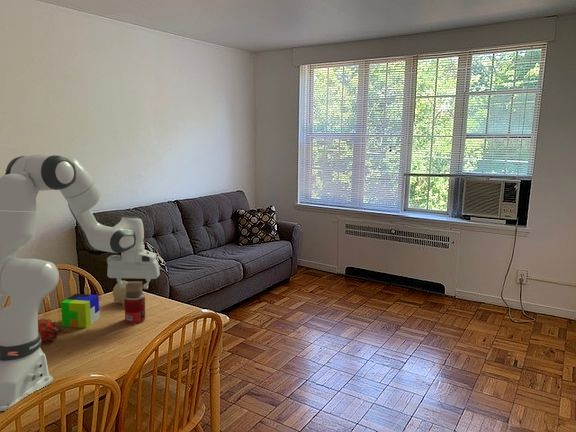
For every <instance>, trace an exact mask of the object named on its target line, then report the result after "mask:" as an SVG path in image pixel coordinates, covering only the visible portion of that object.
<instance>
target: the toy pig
mask: <svg viewBox="0 0 576 432" xmlns="http://www.w3.org/2000/svg"><path fill="white" fill-rule="evenodd" d="M121 281H122V283H125V288H124V289H120V285H119V283H118V282H117V283H116V284H115V286H114V287H113V289H112V296H113V302H114V303H115V302H117V303H119V304H121V305H122V306H123V307H125V305H124V296H125V295H126V285H127V284H128V283H129V282H130V281H126V280H121Z"/></svg>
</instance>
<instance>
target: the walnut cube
mask: <svg viewBox="0 0 576 432" xmlns="http://www.w3.org/2000/svg"><path fill="white" fill-rule="evenodd" d="M128 282H129V283H128V284H127V285H126V297H140V296H141V294H142V293H144V292H143V281H137V280H135V281H134V280H133V281H131V280H129V281H128Z"/></svg>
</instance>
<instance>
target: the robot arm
mask: <svg viewBox="0 0 576 432" xmlns="http://www.w3.org/2000/svg"><path fill="white" fill-rule="evenodd" d="M40 191H59V192H60V193H61V195H62V196H63V198H64V199H65V201H66V202H67V205H68V208H69V211H70V213H71V215H72V217H73V218H74V220H75V222H76V223H77V225H78V227H79V228H80V230H81V233H82V235H83V239H84V243H85V245H86V246H87V248H89V249H91V250H93V251H102V252H107V253H113V254H111V255H109V256H108V257H107V258H106V265H107V269H106V270H107V271H106V272H107V273H106V275H107V277H108V278H109V279H116V281H117V283H119V285H120V289H124V288H125V283H122V281H123V280H122V279H139V280H141V279H142V280H143V279H145V282H146V283H144V284H142V288H143V289H144V290H148V289H149V283H150V282H151V280H154V279H155V280H157V278H159V276H160V275H161V274H160V273H161V272H160V265H159V261H158V260H157V253H156V252H153V251H149V250H147V249H145V245H144V240H145V228H144V223H143V220H142V219H141V218H140V217H138V216H133V215H123V216H122V217H121V219H120V221H119V222H117V224H115V225H114V226H107V225H105V224H102V223H100V222H98V221H97V220H96V218H95V216H94V214H93V212H92V210H91V209H92V208H94V207H95V206H96V205H97V204H98V202H99V201H100V198H101V191H100V188H99V186H98V184H97V183H96V180H94V178H93V177H92V175H91V174H90V173H89V171H88V170H87V169H86V168H85V167H84V165H83V164H82V163H81V162H80V161H78V159H76V158H74V157H68V156H66V157H64V156H61V155H55V154H54V155H53V154H52V155H45V154H31V155H21V156H18V157H15V158H13V159H11V160H10V161H9V163H8V164H7V167H6V169H5V173H4V175H2V176H0V296H8V297H9V298H10V304H9V305H7V306H5V307H3V308H1V309H0V412H2V411H3V412H5V411H8V410H7V409H8V408H10V407H11V406H13V405H14V404H16V403H17V402H19V401H20V400H21V399H23V398H24V397H26V396H28V395H29V394H31V393H33V392H34V391H36V390H39V389H41V388H43V387H44V388H46V387H47V386H48V385H49V384H50V383H52V382H53V381H54V377H53V376H52V374H50V372H49V367H48V361H47V357H46V354H45V353H44V351H43V350H42V348H41V346H42V341H41V337H40V333H39V332H38V320H39V317H38V316H39V309H40V307H41V303H43V300H44V299H45V297H47V296H48V295H49V294H51V292H53V291H54V290H55V289H56V287H57V285H58V284H59V281H60V273H59V269H58V267H57V266H56V265H55V263H54V262H51V261H47V260H43V259H39V258H20V257H19V258H18V257H17V255H18V252H19V250H20V248H21V247H22V246H25V245H27V244H29V243H30V242H31V241H33V239H34V238H35V236H36V231H37V230H36V228H37V227H36V226H37V225H36V224H37V196H38V193H39V192H40ZM114 254H117V255H114ZM45 386H46V387H45ZM44 388H43V389H44Z"/></svg>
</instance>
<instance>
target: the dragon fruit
mask: <svg viewBox="0 0 576 432" xmlns="http://www.w3.org/2000/svg"><path fill="white" fill-rule="evenodd" d="M61 331H62V328H61V327H59V325H58V324H57V323H55V322H54V321H53V320H52V319H50V318H49V319H46V318H44V317H43V318H41V319H38V332H39V333H40V337H41V343H42V342H43V343H47V344H48V343H52V341H51V339H53V340H54V339H57V338H58V337H59V333H61Z"/></svg>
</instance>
